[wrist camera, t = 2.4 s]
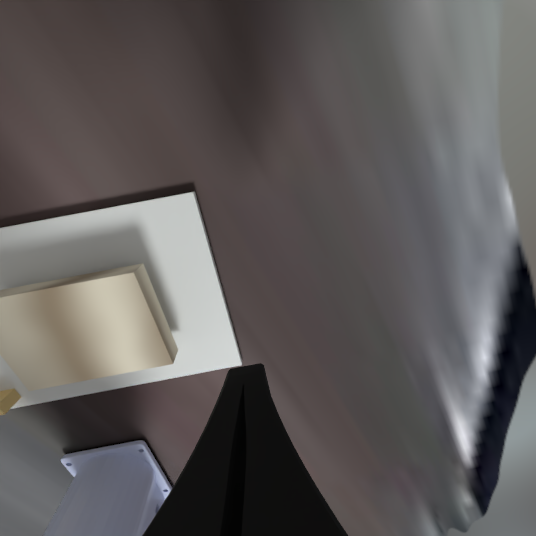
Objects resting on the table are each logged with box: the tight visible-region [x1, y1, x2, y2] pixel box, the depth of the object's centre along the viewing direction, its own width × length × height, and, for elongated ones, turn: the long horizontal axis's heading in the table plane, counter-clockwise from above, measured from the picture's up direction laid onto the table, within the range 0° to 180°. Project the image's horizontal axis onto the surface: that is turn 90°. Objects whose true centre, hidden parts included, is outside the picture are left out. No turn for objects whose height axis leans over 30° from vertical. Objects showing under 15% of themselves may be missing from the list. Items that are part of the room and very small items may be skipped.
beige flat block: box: [0, 263, 178, 391], centre depth 17 cm, size 10×7×2 cm
